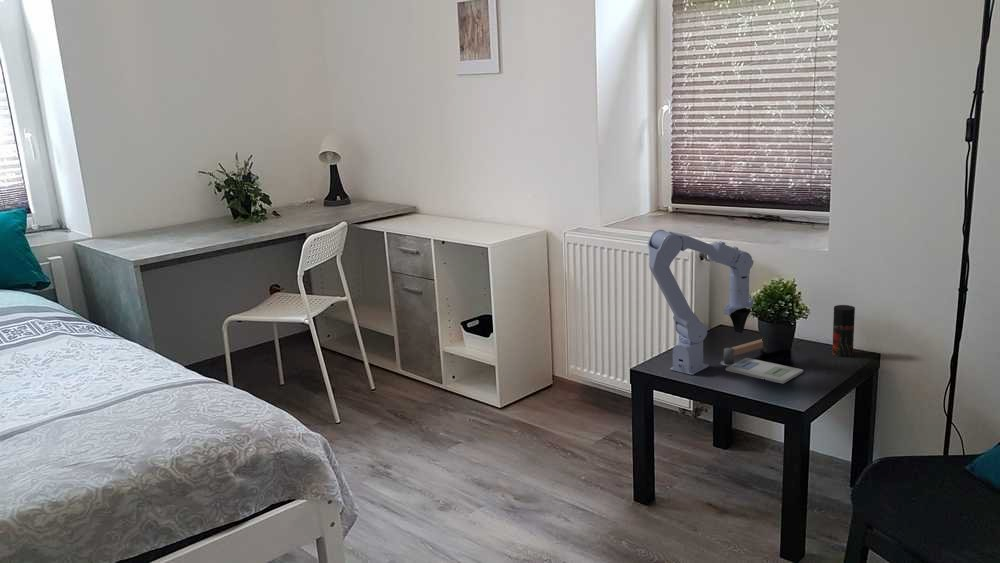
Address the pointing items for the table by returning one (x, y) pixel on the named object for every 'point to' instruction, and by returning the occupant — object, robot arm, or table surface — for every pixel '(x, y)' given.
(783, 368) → the label panel
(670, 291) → the robot arm
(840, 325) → the deodorant
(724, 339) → the table surface
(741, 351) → the swing bar
